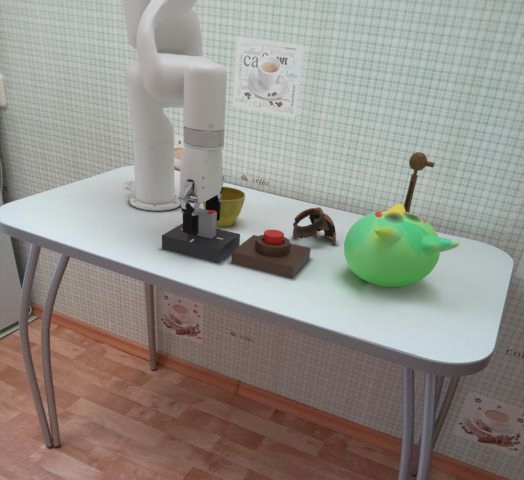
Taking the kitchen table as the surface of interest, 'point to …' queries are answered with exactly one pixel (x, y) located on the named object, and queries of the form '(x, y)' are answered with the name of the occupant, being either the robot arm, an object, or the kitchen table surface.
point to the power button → (273, 237)
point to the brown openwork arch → (314, 224)
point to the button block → (271, 256)
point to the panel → (201, 244)
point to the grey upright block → (207, 223)
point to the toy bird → (393, 247)
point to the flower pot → (229, 206)
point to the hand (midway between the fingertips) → (201, 226)
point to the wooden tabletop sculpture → (415, 175)
